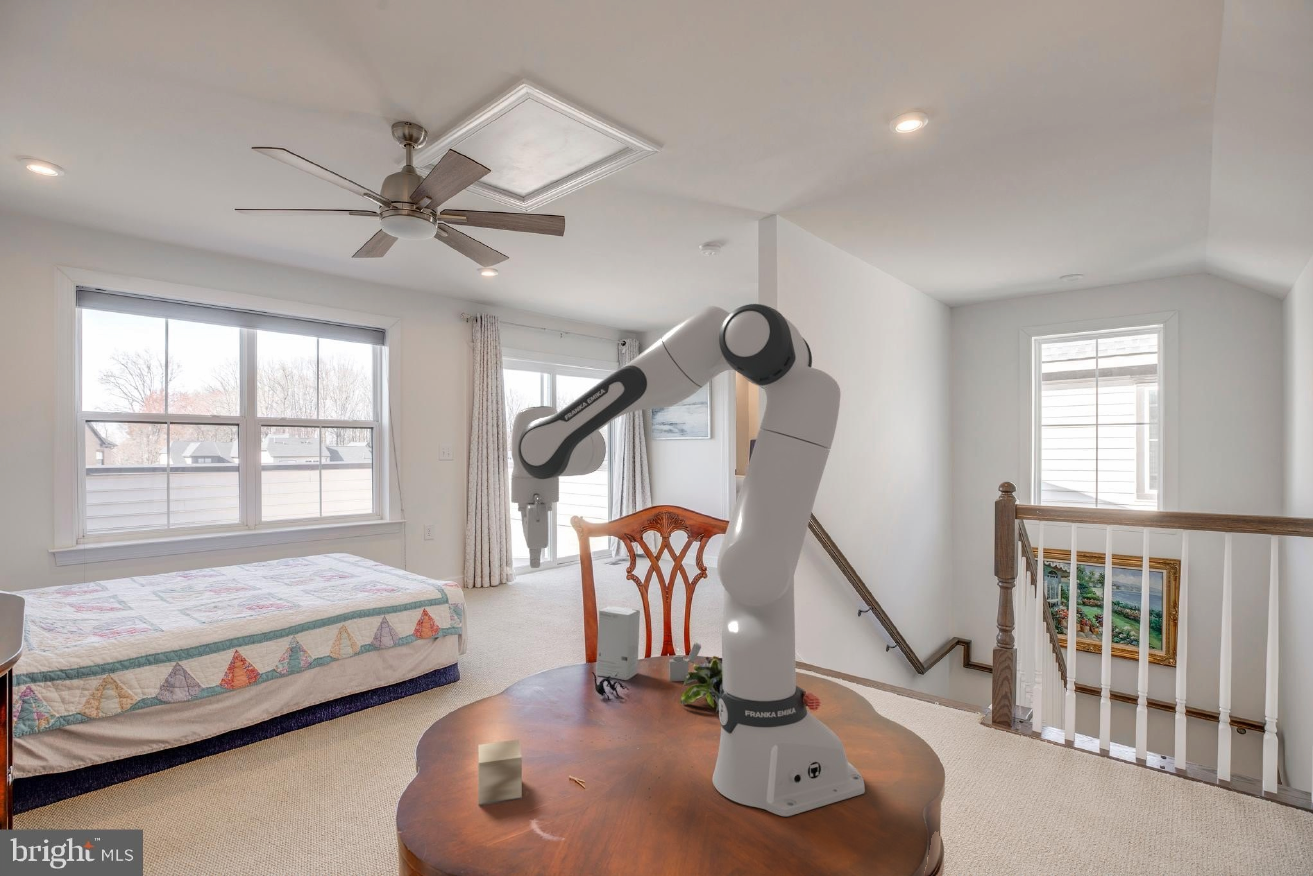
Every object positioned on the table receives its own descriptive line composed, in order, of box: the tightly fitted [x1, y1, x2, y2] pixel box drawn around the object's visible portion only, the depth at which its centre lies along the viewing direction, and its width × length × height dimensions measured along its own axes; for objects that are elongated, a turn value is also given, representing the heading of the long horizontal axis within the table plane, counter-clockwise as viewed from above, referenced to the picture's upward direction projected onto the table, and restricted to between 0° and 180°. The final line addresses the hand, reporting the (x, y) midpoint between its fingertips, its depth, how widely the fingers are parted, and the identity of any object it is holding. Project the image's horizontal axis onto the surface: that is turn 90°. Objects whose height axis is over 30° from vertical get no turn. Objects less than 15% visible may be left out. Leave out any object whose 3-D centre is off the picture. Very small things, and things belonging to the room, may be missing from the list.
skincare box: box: [595, 605, 641, 681], centre depth 142 cm, size 8×6×15 cm
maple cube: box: [477, 739, 523, 806], centre depth 92 cm, size 6×6×6 cm
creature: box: [591, 672, 630, 701], centre depth 129 cm, size 8×5×8 cm
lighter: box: [668, 642, 702, 682], centre depth 139 cm, size 7×2×8 cm, turn 95°
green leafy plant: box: [679, 655, 722, 715], centre depth 123 cm, size 11×11×12 cm
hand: (534, 566), depth 116 cm, fingers closed
